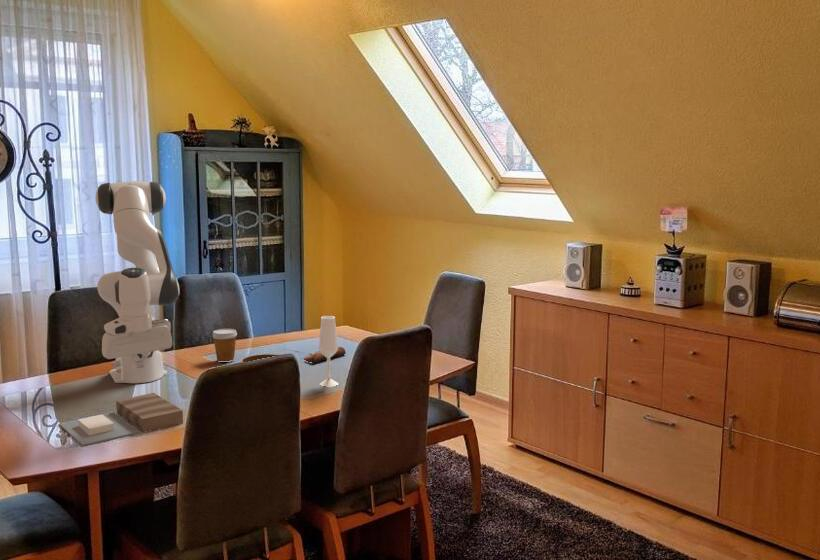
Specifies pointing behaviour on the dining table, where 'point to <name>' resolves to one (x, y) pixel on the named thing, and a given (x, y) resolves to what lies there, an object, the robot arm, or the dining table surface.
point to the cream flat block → (95, 424)
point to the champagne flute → (328, 345)
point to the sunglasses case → (319, 356)
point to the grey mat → (83, 438)
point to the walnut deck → (149, 412)
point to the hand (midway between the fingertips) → (139, 367)
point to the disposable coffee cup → (225, 344)
